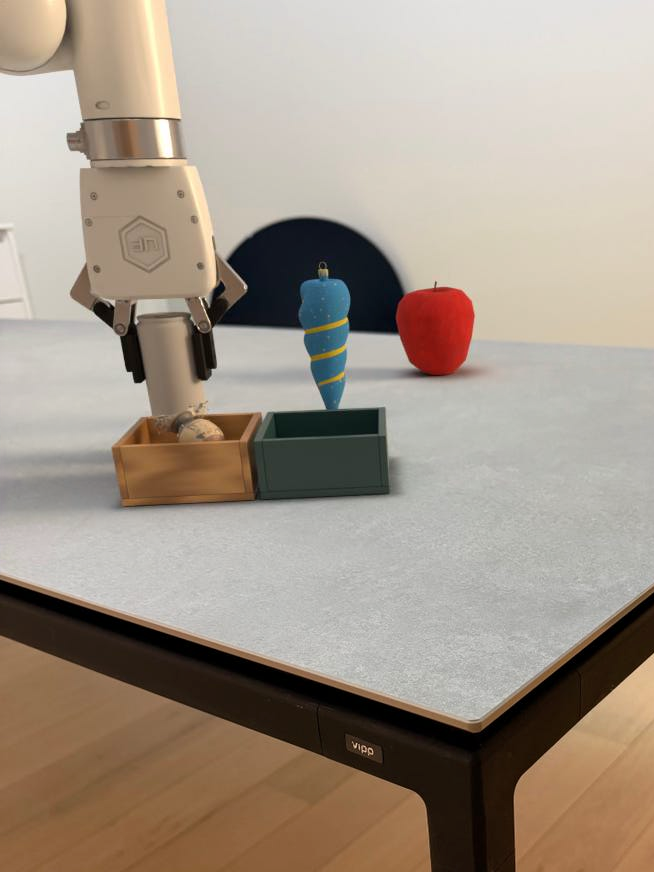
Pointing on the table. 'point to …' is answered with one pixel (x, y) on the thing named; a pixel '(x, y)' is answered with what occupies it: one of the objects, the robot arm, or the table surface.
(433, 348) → the apple
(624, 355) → the table surface
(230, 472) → the bin
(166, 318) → the beverage can
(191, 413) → the vase
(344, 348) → the ornament
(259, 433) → the can bin
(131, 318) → the robot arm
